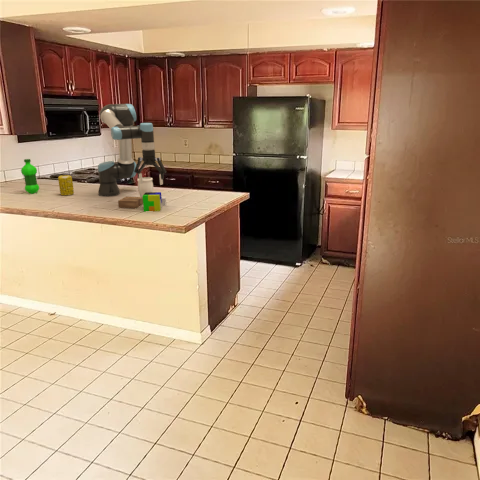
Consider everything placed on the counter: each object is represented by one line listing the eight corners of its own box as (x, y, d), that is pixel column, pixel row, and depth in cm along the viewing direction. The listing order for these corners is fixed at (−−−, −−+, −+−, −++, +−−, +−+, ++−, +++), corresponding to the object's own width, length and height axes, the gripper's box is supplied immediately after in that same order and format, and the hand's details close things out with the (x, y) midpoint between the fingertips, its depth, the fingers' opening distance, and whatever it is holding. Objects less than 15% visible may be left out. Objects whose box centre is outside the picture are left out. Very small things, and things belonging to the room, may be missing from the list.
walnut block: (127, 203, 284) (126, 196, 282) (143, 204, 282) (143, 197, 280) (118, 208, 273) (117, 200, 271) (136, 209, 270) (135, 201, 269)
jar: (138, 199, 295) (136, 177, 290) (152, 197, 298) (151, 176, 294) (140, 202, 286) (138, 180, 281) (155, 201, 289) (153, 179, 284)
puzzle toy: (162, 207, 273) (161, 192, 269) (160, 211, 263) (158, 195, 260) (146, 207, 272) (145, 192, 269) (143, 211, 263) (142, 196, 260)
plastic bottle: (36, 194, 313) (30, 160, 305) (22, 194, 313) (16, 160, 305) (42, 191, 322) (37, 158, 314) (29, 191, 323) (23, 158, 315)
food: (73, 194, 317) (73, 198, 308) (56, 192, 312) (56, 196, 304) (75, 175, 313) (76, 177, 304) (58, 172, 308) (58, 175, 299)
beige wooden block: (158, 204, 281) (158, 196, 279) (166, 204, 281) (165, 196, 279) (157, 206, 276) (157, 198, 274) (165, 205, 276) (164, 198, 275)
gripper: (126, 149, 255) (130, 184, 261) (165, 150, 249) (167, 185, 256) (132, 148, 262) (135, 182, 268) (170, 148, 256) (172, 183, 263)
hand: (151, 184), depth 262 cm, fingers open, 13 cm apart
